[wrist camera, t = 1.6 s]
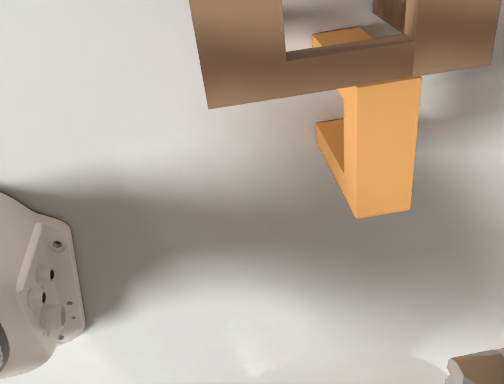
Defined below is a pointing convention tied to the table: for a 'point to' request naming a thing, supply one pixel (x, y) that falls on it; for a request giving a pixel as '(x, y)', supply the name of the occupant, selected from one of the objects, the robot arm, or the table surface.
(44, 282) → the robot arm
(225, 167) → the table surface
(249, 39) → the brown stool
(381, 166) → the orange arch brick
